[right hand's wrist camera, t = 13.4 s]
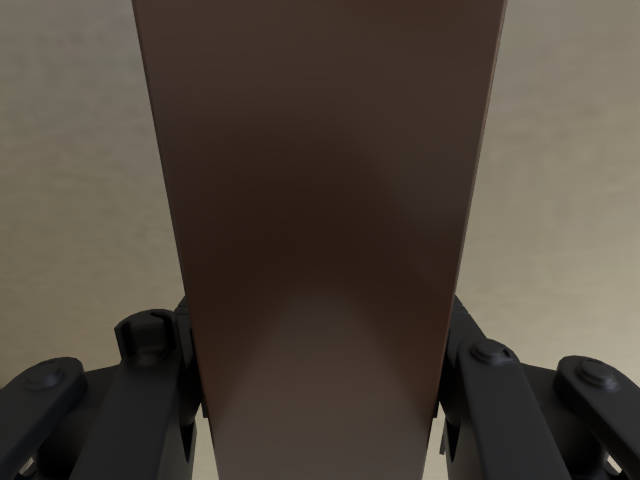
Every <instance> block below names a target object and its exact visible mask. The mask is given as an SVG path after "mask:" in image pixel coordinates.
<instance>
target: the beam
mask: <svg viewBox="0 0 640 480" xmlns="http://www.w3.org/2000/svg"><path fill="white" fill-rule="evenodd" d="M506 4H507V0H132V6H133V11H134V17H135V22H136V28H137V33H138V39H139V44H140V50H141V55H142V60H143V66H144V71H145V77H146V82H147V88H148V93H149V99H150V104H151V110H152V115H153V121H154V126H155V132H156V137H157V142H158V148H159V153H160V159H161V164H162V170H163V175H164V181H165V186H166V192H167V197H168V203H169V208H170V214H171V219H172V225H173V230H174V235H175V241H176V246H177V252H178V257H179V263H180V268H181V274H182V279H183V285H184V290H185V296H186V301H187V307H188V312H189V318H190V323H191V328H192V334H193V339H194V345H195V350H196V356H197V361H198V367H199V372H200V378H201V383H202V389H203V394H204V400H205V405H206V410H207V416H208V421H209V427H210V432H211V438H212V443H213V449H214V454H215V460H216V465H217V471H218V476H219V480H422V477H423V471H424V466H425V460H426V455H427V449H428V443H429V438H430V432H431V426H432V421H433V415H434V410H435V404H436V398H437V393H438V387H439V381H440V376H441V370H442V365H443V359H444V353H445V348H446V342H447V336H448V331H449V325H450V320H451V314H452V308H453V303H454V297H455V291H456V286H457V280H458V275H459V269H460V263H461V258H462V252H463V246H464V241H465V235H466V230H467V224H468V218H469V213H470V207H471V201H472V196H473V190H474V185H475V179H476V173H477V168H478V162H479V156H480V151H481V145H482V140H483V134H484V128H485V123H486V117H487V111H488V106H489V100H490V94H491V89H492V83H493V78H494V72H495V66H496V61H497V55H498V49H499V44H500V38H501V33H502V27H503V21H504V16H505V10H506Z"/></svg>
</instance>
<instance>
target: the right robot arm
mask: <svg viewBox="0 0 640 480" xmlns="http://www.w3.org/2000/svg"><path fill="white" fill-rule="evenodd" d="M114 331H115V335H116V339H117V342H118V346H119V350H120V354H121V358H122V360H121V362H120V364H118V365H115V366H111V367H106V368H102V369H97V370H92V371H88V372H84V369H83V366H82V363H81V362H80V361H79V360H78V359H77V358H71V357H61V358H54V359H50V360H46V361H43V362H40V363H38V364H37V365H34V366H32V367H30V368H28V369H26V370H25V371H24V372H22V373H21V374H19V375H18V376H17V377H15V378H14V379H13V380H12V381H11V382H9V383H8V384H7V385H6V386H5V387H4V388H3V389H1V390H0V480H192V471H193V462H194V453H195V444H196V435H197V430H196V423H195V415H196V413H197V410H198V408H199V405H200V403H201V406H202V412H203V418H208V416H207V410H206V405H205V400H204V394H203V389H202V383H201V378H200V372H199V367H198V361H197V356H196V350H195V345H194V339H193V334H192V328H191V323H190V318H189V312H188V307H187V301H186V296H184V298H183V299H182V300H181V302H180V303H179V305H178V307H176V309H175V310H174V312H172V311H170V310H166V309H151V310H146V311H141V312H138V313H136V314H133V315H131V316H129V317H127V318H125V319H124V320H122V321H121V322H119V324H118V325H117V326H116V327H115V328H114ZM439 401H440V403H441V406H442V408H443V411H444V413H445V416H446V417H445V423H444V429H443V434H442V440H441V446H440V453H439V454H442V455H444V452H445V453H446V462H447V471H448V479H449V480H640V388H639V387H638V386H637V385H636V384H635V383H633V382H632V381H631V380H630V379H629V378H628V377H627V376H625V375H624V374H622V373H621V372H620V371H618V370H617V369H615V368H614V367H612V366H610V365H608V364H605V363H603V362H602V361H599V360H596V359H593V358H589V357H584V356H575V355H573V356H567V357H564V358H562V359H561V360H560V361H559V363H558V366H557V370H556V371H555V370H550V369H546V368H541V367H536V366H531V365H527V364H524V363H520V361H519V359H518V357H517V356H516V355H515V353H514V352H513V351H512V350H511V349H509V348H508V347H507V346H505V345H504V344H501V343H499V342H497V341H495V340H492V339H488V338H486V336H485V335H484V334H483V332H482V331H481V329H480V328H479V327H478V325H477V324H476V322H475V321H474V320H473V318H472V317H471V315H470V314H468V311H467V310H466V309H465V307H464V306H463V304H462V303H461V302H460V300H459V299H458V297H457V296H456V295H455V297H454V303H453V308H452V314H451V320H450V325H449V331H448V336H447V342H446V348H445V353H444V359H443V365H442V370H441V376H440V381H439V387H438V393H437V398H436V404H435V410H434V415H433V418H437V413H438V407H439ZM609 455H610V456H611V457H612V458H613V459H614V461H615V462H616V463H617V464H618V465H619V467H620V468H621V469H622V471H621V472H620V473H618V472H617V471H616V470H615V469H614V468H613V467H612V466H611V464H610V463H609V462H608V461H607V459H608V457H609ZM31 456H32V458H33V461H34V462H33V463H32V464H31V466H30V467H29V468H28V469H27V470H26V467H27V464H28V460H29V459H30V458H31ZM25 470H26V471H25Z"/></svg>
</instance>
